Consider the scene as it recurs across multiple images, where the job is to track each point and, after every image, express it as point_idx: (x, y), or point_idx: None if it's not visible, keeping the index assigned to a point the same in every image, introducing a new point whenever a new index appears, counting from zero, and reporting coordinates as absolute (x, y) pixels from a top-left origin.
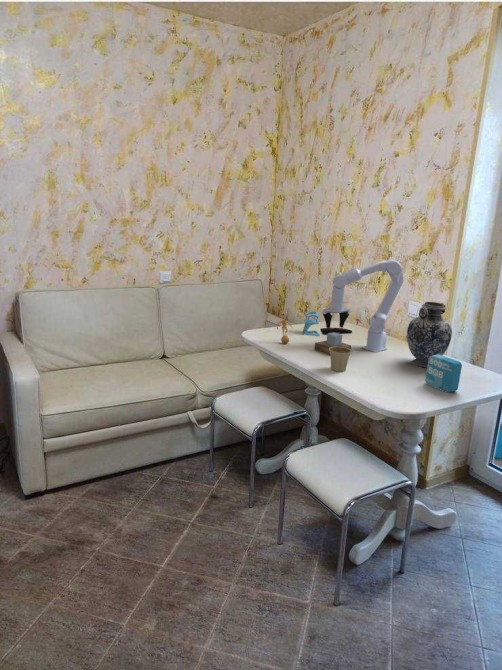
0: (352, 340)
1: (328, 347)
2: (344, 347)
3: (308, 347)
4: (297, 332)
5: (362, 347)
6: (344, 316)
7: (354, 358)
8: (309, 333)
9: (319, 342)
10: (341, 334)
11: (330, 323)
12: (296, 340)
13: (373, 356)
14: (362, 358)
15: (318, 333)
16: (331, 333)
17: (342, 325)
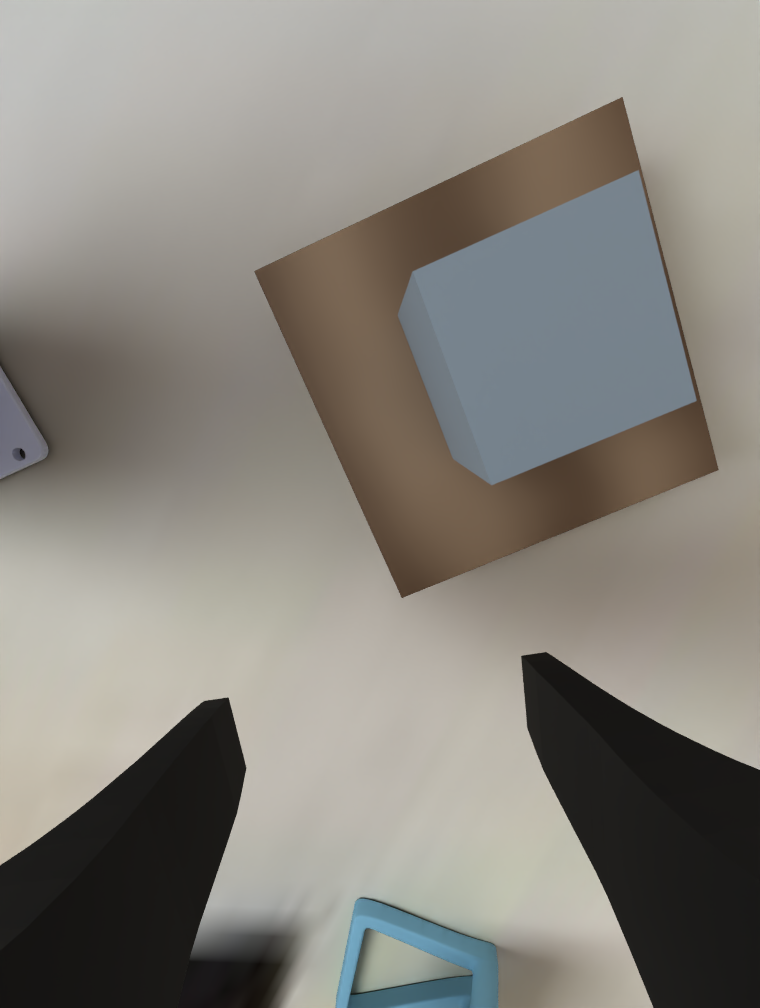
0: (58, 741)
1: (652, 219)
2: (396, 206)
3: (674, 547)
4: (521, 1000)
5: (44, 449)
6: (27, 966)
7: (331, 33)
8: (448, 945)
9: (651, 474)
10: (421, 298)
11: (576, 709)
12: None
13: (27, 89)
14: (220, 16)
15: (356, 939)
16: (599, 403)
17: (206, 720)
